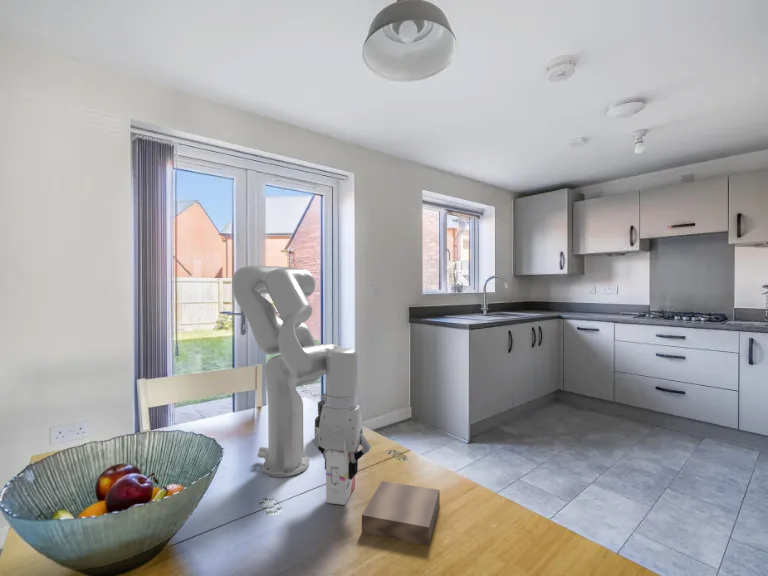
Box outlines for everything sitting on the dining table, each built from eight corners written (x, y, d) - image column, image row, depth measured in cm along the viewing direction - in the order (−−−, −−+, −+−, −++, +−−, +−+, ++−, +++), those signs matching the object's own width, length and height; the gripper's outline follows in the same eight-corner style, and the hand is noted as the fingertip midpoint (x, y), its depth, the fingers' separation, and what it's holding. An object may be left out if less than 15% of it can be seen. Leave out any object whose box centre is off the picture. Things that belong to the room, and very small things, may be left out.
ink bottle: (309, 442, 121) (308, 405, 121) (320, 432, 130) (319, 397, 130) (337, 445, 119) (337, 407, 119) (346, 434, 128) (346, 399, 127)
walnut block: (361, 534, 77) (361, 514, 77) (381, 497, 91) (381, 480, 91) (429, 547, 73) (429, 527, 73) (439, 507, 87) (439, 489, 87)
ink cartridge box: (336, 483, 96) (337, 426, 95) (355, 486, 95) (356, 428, 94) (324, 503, 87) (325, 440, 87) (345, 506, 86) (345, 442, 86)
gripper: (302, 401, 89) (301, 476, 90) (369, 409, 84) (369, 489, 85) (316, 392, 96) (316, 462, 97) (380, 399, 91) (379, 472, 92)
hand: (341, 473), depth 91 cm, fingers closed on ink cartridge box, 5 cm apart
